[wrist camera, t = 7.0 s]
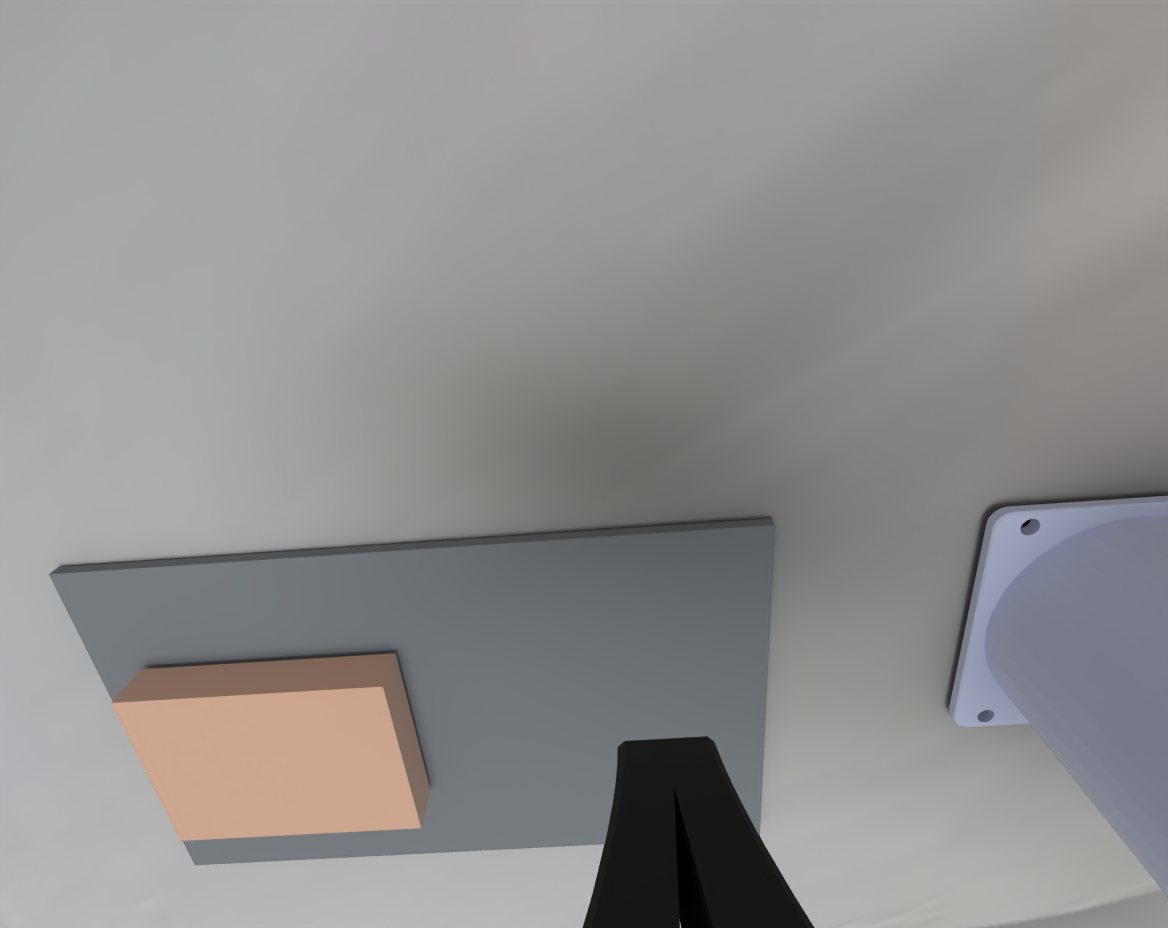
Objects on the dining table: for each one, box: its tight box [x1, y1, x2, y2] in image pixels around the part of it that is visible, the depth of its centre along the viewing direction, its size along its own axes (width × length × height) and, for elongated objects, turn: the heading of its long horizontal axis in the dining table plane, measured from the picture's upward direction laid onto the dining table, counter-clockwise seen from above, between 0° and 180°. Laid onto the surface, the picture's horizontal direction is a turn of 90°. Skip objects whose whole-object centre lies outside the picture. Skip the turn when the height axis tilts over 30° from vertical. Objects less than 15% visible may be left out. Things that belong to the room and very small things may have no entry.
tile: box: [111, 653, 431, 841], centre depth 21 cm, size 2×6×8 cm
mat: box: [49, 518, 775, 865], centre depth 21 cm, size 21×13×1 cm, turn 95°
